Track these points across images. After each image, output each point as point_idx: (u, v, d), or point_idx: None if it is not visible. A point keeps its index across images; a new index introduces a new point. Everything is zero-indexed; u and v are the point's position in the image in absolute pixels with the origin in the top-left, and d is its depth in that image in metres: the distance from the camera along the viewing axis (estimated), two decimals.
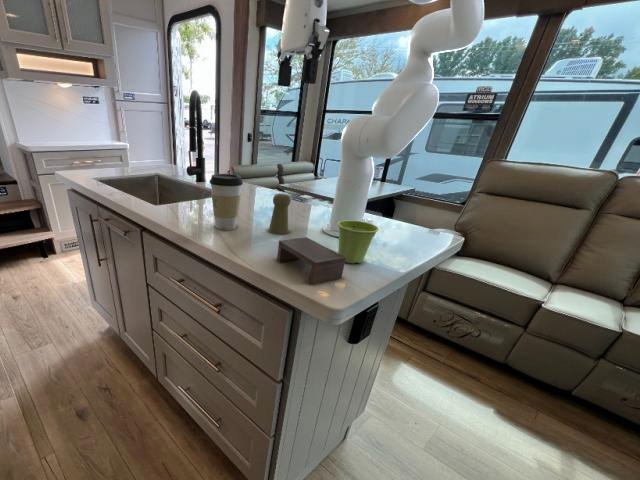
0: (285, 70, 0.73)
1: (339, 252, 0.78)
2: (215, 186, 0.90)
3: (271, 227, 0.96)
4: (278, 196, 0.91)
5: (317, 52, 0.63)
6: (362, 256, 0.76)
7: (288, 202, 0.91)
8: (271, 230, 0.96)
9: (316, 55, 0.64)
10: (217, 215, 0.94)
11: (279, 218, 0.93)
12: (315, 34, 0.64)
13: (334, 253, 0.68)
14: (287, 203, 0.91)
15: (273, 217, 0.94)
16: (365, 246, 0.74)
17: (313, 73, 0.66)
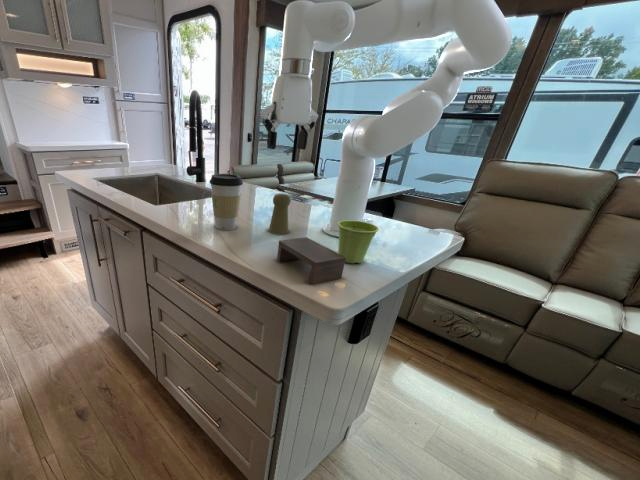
0: None
1: (339, 252, 0.78)
2: (215, 186, 0.90)
3: (271, 227, 0.96)
4: (278, 196, 0.91)
5: None
6: (362, 256, 0.76)
7: (288, 202, 0.91)
8: (271, 230, 0.96)
9: None
10: (217, 215, 0.94)
11: (279, 218, 0.93)
12: None
13: (334, 253, 0.68)
14: (287, 203, 0.91)
15: (273, 217, 0.94)
16: (365, 246, 0.74)
17: None
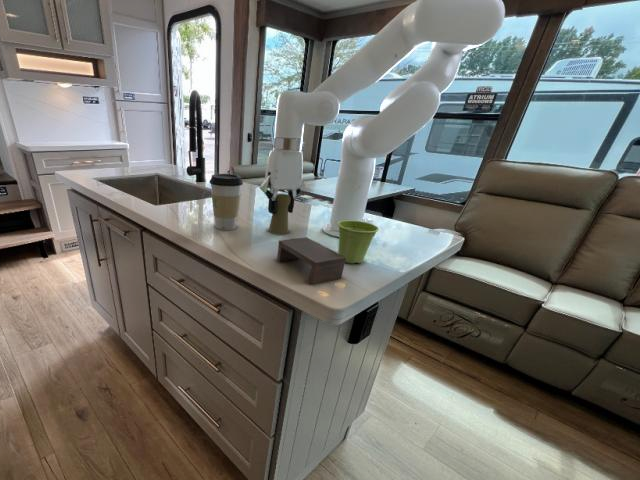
0: None
1: (339, 252, 0.78)
2: (215, 186, 0.90)
3: (271, 227, 0.96)
4: (278, 196, 0.91)
5: None
6: (362, 256, 0.76)
7: (288, 202, 0.91)
8: (271, 230, 0.96)
9: None
10: (217, 215, 0.94)
11: (279, 218, 0.93)
12: None
13: (334, 253, 0.68)
14: (287, 203, 0.91)
15: (273, 217, 0.94)
16: (365, 246, 0.74)
17: None
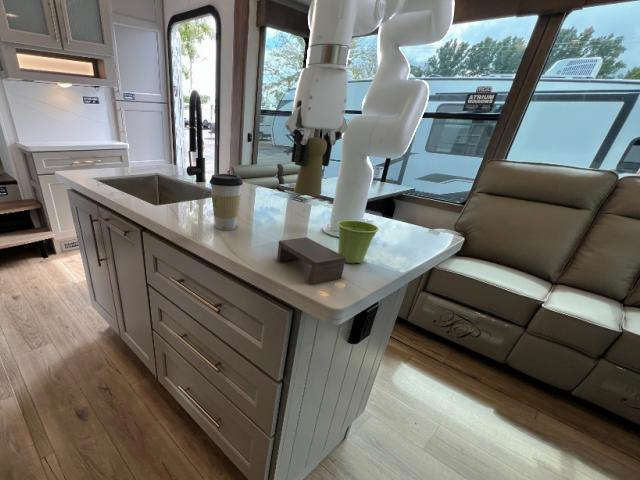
0: None
1: (339, 252, 0.78)
2: (215, 186, 0.90)
3: (298, 186, 0.69)
4: (310, 139, 0.64)
5: None
6: (362, 256, 0.76)
7: (324, 148, 0.65)
8: (298, 190, 0.69)
9: None
10: (217, 215, 0.94)
11: (310, 172, 0.67)
12: None
13: (334, 253, 0.68)
14: (322, 150, 0.65)
15: (301, 171, 0.68)
16: (365, 246, 0.74)
17: None
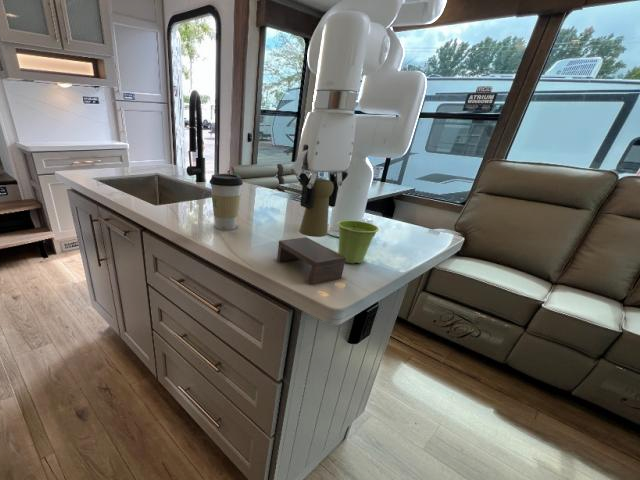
0: None
1: (339, 252, 0.78)
2: (215, 186, 0.90)
3: (304, 227, 0.67)
4: (316, 182, 0.62)
5: None
6: (362, 256, 0.76)
7: (330, 191, 0.63)
8: (303, 231, 0.67)
9: None
10: (217, 215, 0.94)
11: (316, 214, 0.64)
12: None
13: (334, 253, 0.68)
14: (329, 192, 0.63)
15: (307, 213, 0.66)
16: (365, 246, 0.74)
17: None
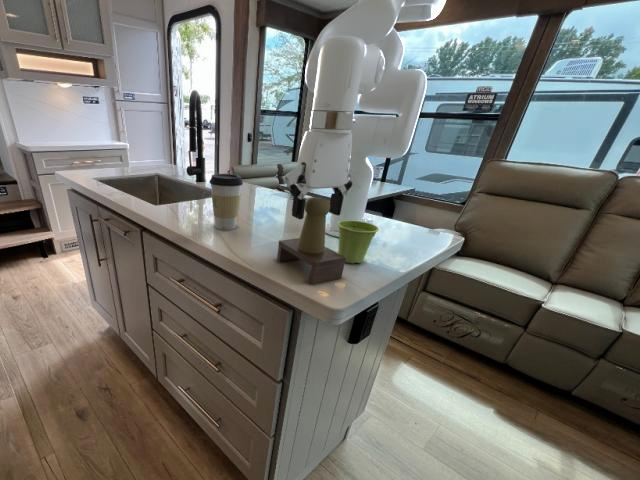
0: None
1: (339, 252, 0.78)
2: (215, 186, 0.90)
3: (301, 244, 0.69)
4: (313, 201, 0.64)
5: None
6: (362, 256, 0.76)
7: (327, 209, 0.65)
8: (301, 248, 0.69)
9: None
10: (217, 215, 0.94)
11: (313, 232, 0.66)
12: None
13: (334, 253, 0.68)
14: (326, 211, 0.65)
15: (305, 230, 0.67)
16: (365, 246, 0.74)
17: None
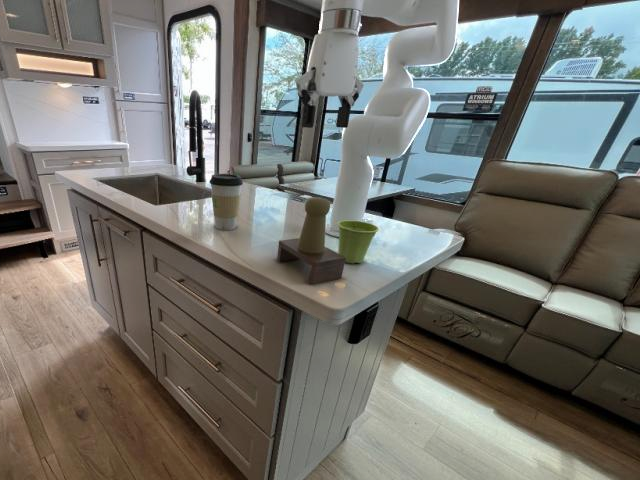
0: None
1: (339, 252, 0.78)
2: (215, 186, 0.90)
3: (301, 244, 0.69)
4: (313, 201, 0.64)
5: None
6: (362, 256, 0.76)
7: (327, 209, 0.65)
8: (301, 248, 0.69)
9: None
10: (217, 215, 0.94)
11: (313, 232, 0.66)
12: None
13: (334, 253, 0.68)
14: (326, 211, 0.65)
15: (305, 230, 0.67)
16: (365, 246, 0.74)
17: None
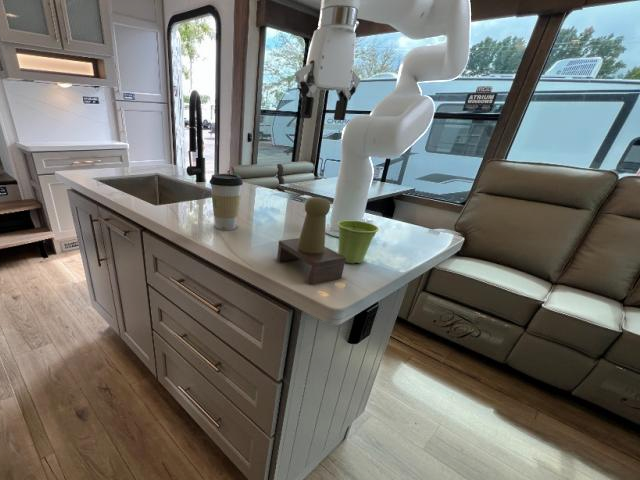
0: None
1: (339, 252, 0.78)
2: (215, 186, 0.90)
3: (301, 244, 0.69)
4: (313, 201, 0.64)
5: None
6: (362, 256, 0.76)
7: (327, 209, 0.65)
8: (301, 248, 0.69)
9: None
10: (217, 215, 0.94)
11: (313, 232, 0.66)
12: None
13: (334, 253, 0.68)
14: (326, 211, 0.65)
15: (305, 230, 0.67)
16: (365, 246, 0.74)
17: None
